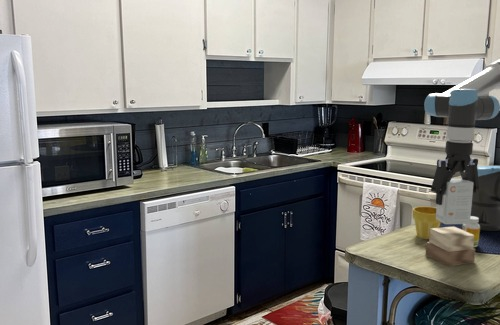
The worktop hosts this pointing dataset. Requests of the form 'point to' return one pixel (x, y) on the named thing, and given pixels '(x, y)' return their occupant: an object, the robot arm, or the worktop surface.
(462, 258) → the walnut slab
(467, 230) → the supplement bottle
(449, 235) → the maple slab
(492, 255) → the worktop surface
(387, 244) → the worktop surface
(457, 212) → the small box
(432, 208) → the plant pot
